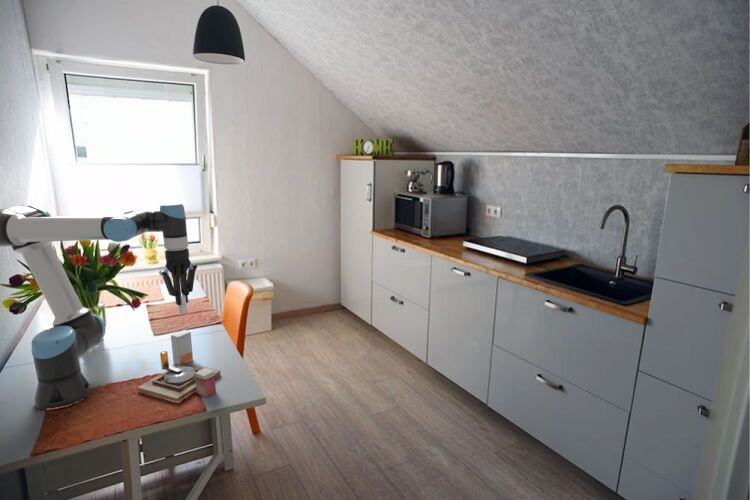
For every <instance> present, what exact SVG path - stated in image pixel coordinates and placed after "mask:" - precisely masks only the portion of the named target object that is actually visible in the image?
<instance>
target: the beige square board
mask: <svg viewBox="0 0 750 500" xmlns="http://www.w3.org/2000/svg"><path fill="white" fill-rule="evenodd" d="M173 367H175V368H178V367H192V368H194V369H195V373H196V372H198V371H199V370H201V369H204V368H207V369H210V370H212V371H214V372H215V380H217V379H218V378H220V377H221V376H220V375H221V370H218V369H216V368H215V369H214V368H211V367H207V366H202V365H199V364H194V363H190V362H187V363H186V362H182V363H180V364H178V365H177V364H175V366H173ZM167 372H168V370H165V371H164V372H161V373H160V374H159V375H157V376H155V377H153V378H151V379H150V380H148V381H146V382H145V383H142V384H141V385H139V386H137V392H138V391H140V392H143V393H146V394H150V395H154V396H158V397H162V398H166V399H170V400H174V401H179V400H180V399H182V398H184V397H185V396H187V395H189V394H190V393H192V392H194V391H196V390H197V389H196V377H195V378H193V379H191V380H190V381H188V382H187V383H185V384H182V385H176V386H175V385H171V384H167V383H165V379H164V375H165V374H166V373H167ZM217 377H218V378H217Z"/></svg>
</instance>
